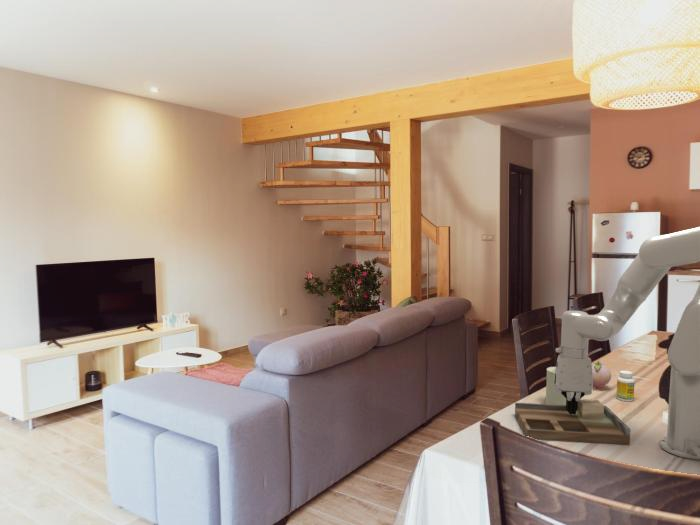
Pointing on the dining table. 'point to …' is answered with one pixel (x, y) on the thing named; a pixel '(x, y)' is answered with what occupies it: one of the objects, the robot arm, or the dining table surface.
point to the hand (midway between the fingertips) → (571, 412)
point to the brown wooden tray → (570, 425)
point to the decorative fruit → (600, 375)
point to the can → (550, 394)
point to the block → (590, 409)
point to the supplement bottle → (625, 386)
